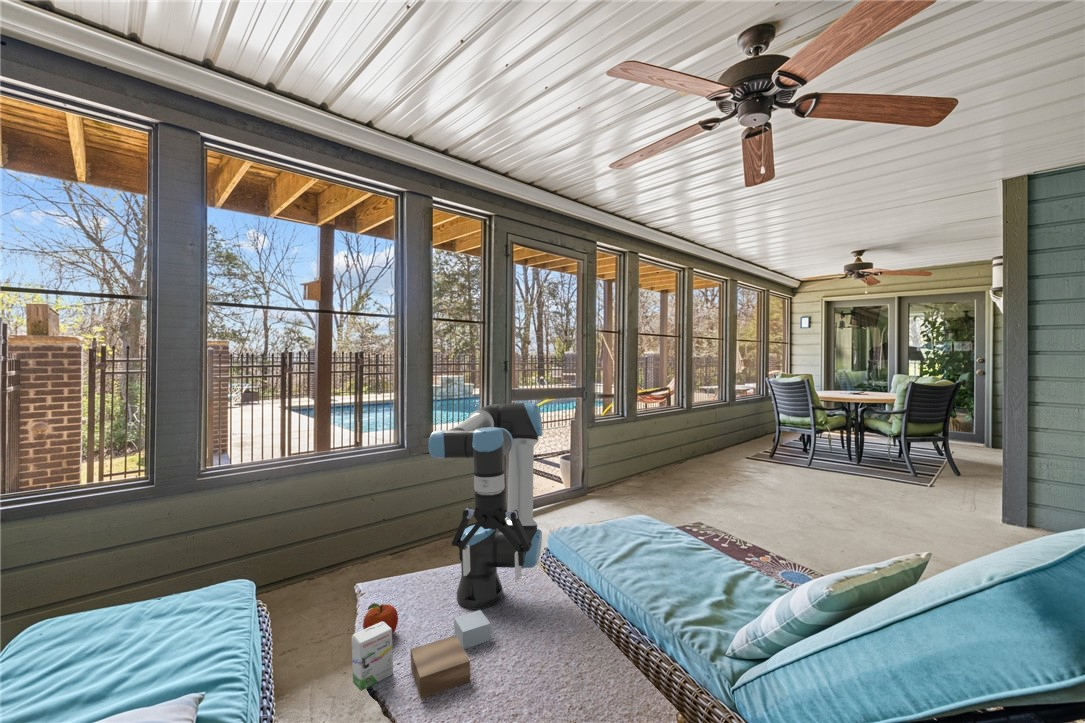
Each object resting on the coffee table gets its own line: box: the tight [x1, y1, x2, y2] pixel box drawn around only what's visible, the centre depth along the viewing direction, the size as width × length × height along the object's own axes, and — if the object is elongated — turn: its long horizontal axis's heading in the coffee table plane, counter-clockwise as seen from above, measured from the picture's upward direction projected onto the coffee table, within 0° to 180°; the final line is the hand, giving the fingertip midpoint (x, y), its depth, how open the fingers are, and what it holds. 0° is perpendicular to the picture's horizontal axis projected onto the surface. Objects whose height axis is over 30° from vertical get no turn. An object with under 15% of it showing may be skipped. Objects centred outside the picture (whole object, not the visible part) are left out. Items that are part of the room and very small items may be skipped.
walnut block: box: [409, 634, 471, 700], centre depth 114 cm, size 12×12×5 cm
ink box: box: [351, 622, 394, 692], centre depth 114 cm, size 8×5×12 cm, turn 136°
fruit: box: [362, 602, 399, 635], centre depth 131 cm, size 10×10×10 cm
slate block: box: [453, 609, 492, 650], centre depth 130 cm, size 8×8×5 cm
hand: (492, 575), depth 114 cm, fingers open, 13 cm apart
